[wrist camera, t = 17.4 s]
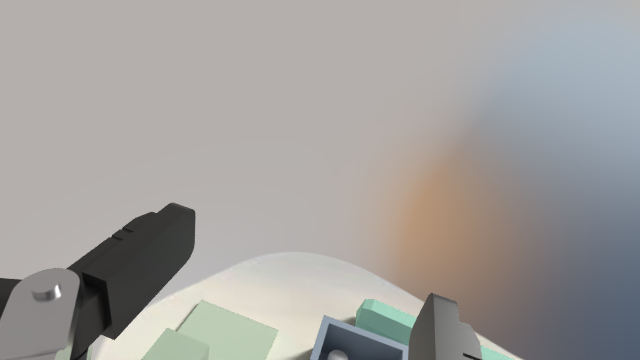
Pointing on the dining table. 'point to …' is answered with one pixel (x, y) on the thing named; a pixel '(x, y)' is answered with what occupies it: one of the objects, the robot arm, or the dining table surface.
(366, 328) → the mint green bar
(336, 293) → the dining table surface
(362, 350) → the tub
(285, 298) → the dining table surface
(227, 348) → the lid
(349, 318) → the dining table surface
